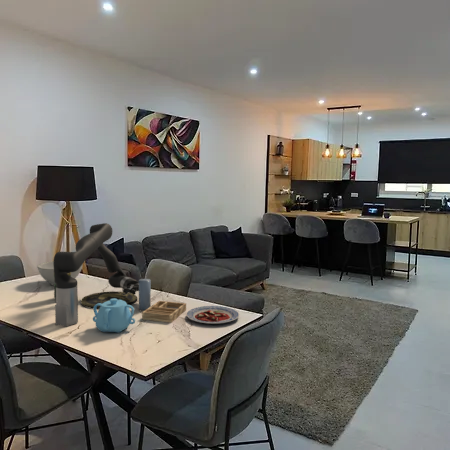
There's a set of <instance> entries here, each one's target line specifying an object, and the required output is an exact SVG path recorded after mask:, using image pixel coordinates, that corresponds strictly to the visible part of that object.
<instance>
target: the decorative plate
mask: <svg viewBox="0 0 450 450" xmlns="http://www.w3.org/2000/svg"><path fill="white" fill-rule="evenodd" d="M114 298H115V299H117V300H122V301H125V302H126V303H127V305H131V306H133V305H135V304H136V303H137V302H138V296H137V295H136V294H132V293H127V294H126V293H124V292H123V291H116V290H115V291H103V292H102V291H101V292H95V293H92V294H88V295H86V296H84V297H82V299H81V300H80V304H81V305H82V306H83V307H85V308H88V309H93V308H94V306H95V305H96V304H98V303H101V304H103V303H104V302H106V301H110V299H114ZM100 307H101V306H97V307H96V309H97V310H99V309H100Z"/></svg>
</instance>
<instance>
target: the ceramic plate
mask: <svg viewBox="0 0 450 450" xmlns="http://www.w3.org/2000/svg"><path fill="white" fill-rule="evenodd" d="M186 316H187V318H188V319H189V320H191V321H193V322H197V323H201V324H202V323H203V324H209V325H211V324H214V325H215V324H216V325H217V324H225V323H231V322H233V321H236V320H237V319H239V317H240V313H239V311H237V310H236V309H235V308H231V307H227V306H218V305H204V306H198V307H193V308H192V309H190V310H188V311H187V312H186Z"/></svg>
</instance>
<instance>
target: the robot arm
mask: <svg viewBox="0 0 450 450" xmlns="http://www.w3.org/2000/svg"><path fill="white" fill-rule="evenodd" d="M112 236H113V227H112V226H111V225H110V224H109V223H105V222H104V223H98V224H97V223H96V224H93V225H92V224H91V226H90V227H89V233H88V234H85V235H84V236H82V237H81V238H79V240H78V241H77V242H76V244H75V251H58V252H56V253H55V255H54V257H53V261H54V262H53V265H54V277H55V283H56V299H55V301H56V304H55V305H54V314H55V315H54V316H55V326H61V327H69V326H73V325H75V324H77V323H79V310H78V309H79V307H78V306H79V304H78V303H79V302H78V301H79V300H78V280H77V279H76V278H72V277H70V276H69V275H68V274H67V273H66V272H75V271H77V270H78V269H79V268H80V267H81V266H82V264H83V265H84V264H85V262H86V260H87V259H88V258H89V257H90V256H91V255H92V254H94V253H95V251H96V250H97V251H98V253H99V254H100V255H101V258H102V260H103V262H104V263H105V264H104V265H105V267H106V270H107V271H108V272H109V273H110V274H112V275H110V276H109V277H108V279H107V281H108V284H109V286H111V287H112V288H115V289H120V288H121V289H122V290H121V292H124V293H126V294H127V293H132V294H134V295H136V293H137V292H139V280H137V279H134V278H133V277H129V276H127V274H126V272H124V271H123V269H122V268H121V266H120V264H119V262H118V258H117V255H116V254H114V252H113V251H111V249H109V247H107V246H106V245H105V244H104V243H105V242H107V241H108V240H110V239H111V237H112ZM82 267H83V266H82ZM113 273H114V274H113Z"/></svg>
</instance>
